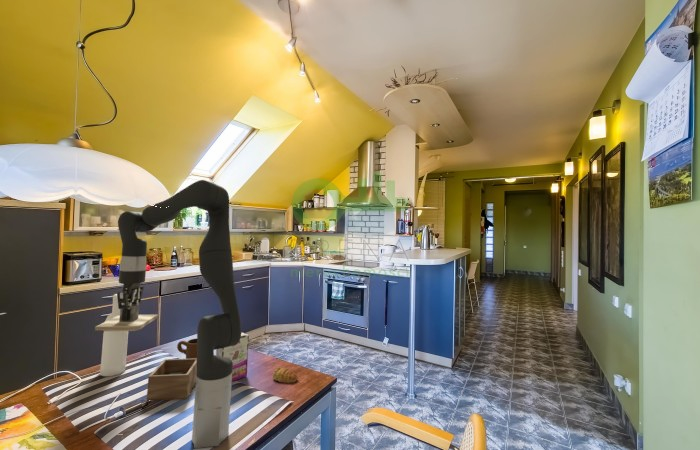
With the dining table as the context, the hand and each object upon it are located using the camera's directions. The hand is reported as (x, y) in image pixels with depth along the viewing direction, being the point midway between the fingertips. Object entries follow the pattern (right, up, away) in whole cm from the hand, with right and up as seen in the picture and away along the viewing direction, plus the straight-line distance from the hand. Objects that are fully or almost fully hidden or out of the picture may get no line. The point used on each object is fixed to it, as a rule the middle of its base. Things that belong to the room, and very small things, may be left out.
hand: (129, 318), depth 105 cm
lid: (0, -2, 0) cm, 2 cm away
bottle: (-16, -25, +13) cm, 32 cm away
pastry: (+51, -29, +15) cm, 60 cm away
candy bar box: (+30, -27, +12) cm, 43 cm away
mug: (+8, -27, +25) cm, 37 cm away
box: (+14, -26, +2) cm, 30 cm away
